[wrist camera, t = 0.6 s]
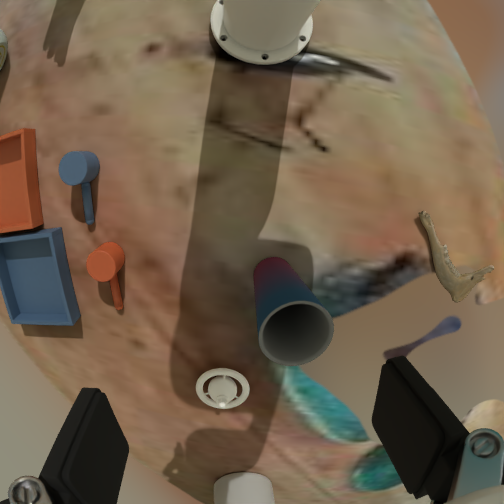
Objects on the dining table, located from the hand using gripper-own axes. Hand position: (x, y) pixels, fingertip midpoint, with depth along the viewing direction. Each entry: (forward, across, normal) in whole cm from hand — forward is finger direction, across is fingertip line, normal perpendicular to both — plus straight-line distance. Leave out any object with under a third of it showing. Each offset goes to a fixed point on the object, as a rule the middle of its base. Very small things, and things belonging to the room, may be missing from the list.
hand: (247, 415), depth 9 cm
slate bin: (+31, +29, +4) cm, 43 cm away
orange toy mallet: (+31, +16, +5) cm, 35 cm away
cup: (+31, -5, +7) cm, 33 cm away
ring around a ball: (+32, +3, +24) cm, 40 cm away
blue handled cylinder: (+31, +18, -7) cm, 36 cm away
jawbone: (+31, -35, +6) cm, 47 cm away
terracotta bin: (+31, +32, -10) cm, 45 cm away
